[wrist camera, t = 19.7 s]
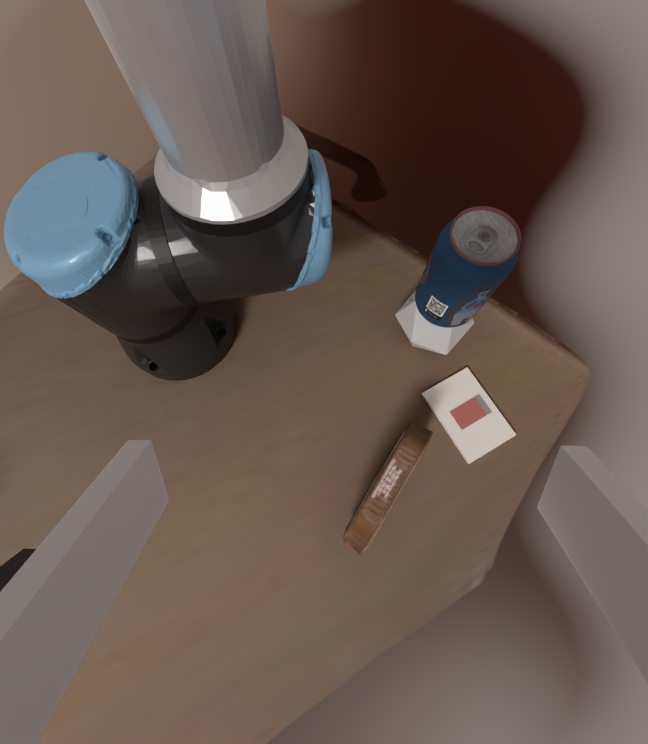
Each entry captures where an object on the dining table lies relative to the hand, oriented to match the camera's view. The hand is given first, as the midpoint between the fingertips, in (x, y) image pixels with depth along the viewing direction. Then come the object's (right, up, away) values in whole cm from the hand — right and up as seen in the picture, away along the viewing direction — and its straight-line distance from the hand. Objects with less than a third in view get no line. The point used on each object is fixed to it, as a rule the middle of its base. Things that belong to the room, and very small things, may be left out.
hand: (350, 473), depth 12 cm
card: (+17, -2, +32) cm, 36 cm away
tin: (+6, -10, +30) cm, 32 cm away
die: (+13, +9, +36) cm, 39 cm away
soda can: (+13, +11, +28) cm, 33 cm away
